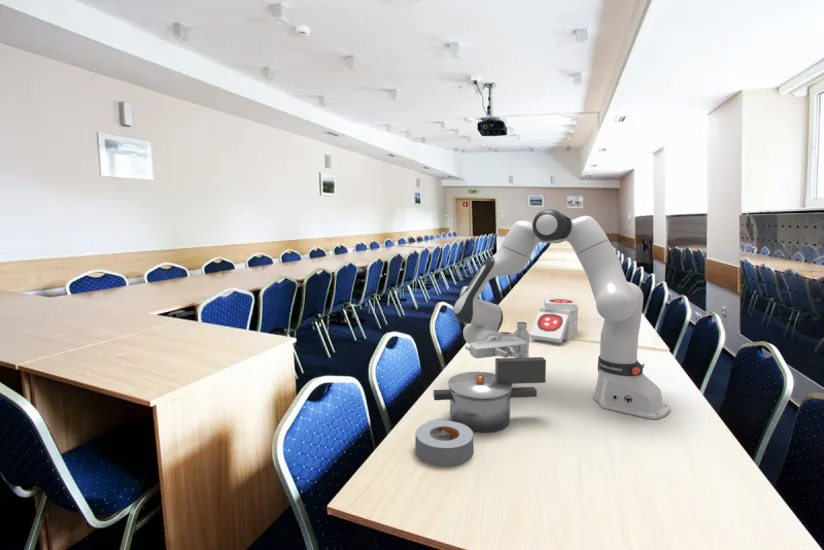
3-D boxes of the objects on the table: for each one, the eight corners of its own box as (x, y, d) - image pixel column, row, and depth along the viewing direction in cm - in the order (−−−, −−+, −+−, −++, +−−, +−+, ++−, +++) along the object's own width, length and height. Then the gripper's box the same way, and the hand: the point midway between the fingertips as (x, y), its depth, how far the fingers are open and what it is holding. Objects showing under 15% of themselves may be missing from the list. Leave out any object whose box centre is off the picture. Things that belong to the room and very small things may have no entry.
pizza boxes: (526, 341, 214) (526, 305, 212) (546, 328, 238) (547, 296, 236) (565, 347, 203) (566, 310, 201) (583, 333, 227) (584, 299, 225)
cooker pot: (437, 434, 123) (436, 401, 122) (431, 407, 141) (431, 377, 140) (544, 430, 125) (545, 397, 123) (525, 404, 142) (526, 374, 141)
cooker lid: (452, 400, 122) (452, 372, 121) (445, 376, 141) (444, 351, 139) (554, 397, 123) (555, 369, 122) (533, 373, 142) (534, 349, 140)
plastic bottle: (526, 376, 167) (527, 325, 164) (509, 373, 171) (510, 323, 169) (532, 371, 172) (533, 322, 170) (516, 368, 176) (517, 320, 174)
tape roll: (438, 431, 126) (437, 414, 125) (484, 448, 116) (484, 430, 116) (403, 453, 114) (403, 435, 113) (452, 474, 104) (452, 454, 104)
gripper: (463, 337, 150) (481, 348, 137) (515, 332, 157) (537, 342, 143) (462, 355, 151) (480, 367, 138) (514, 349, 157) (536, 360, 144)
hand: (510, 354), depth 141 cm, fingers closed
